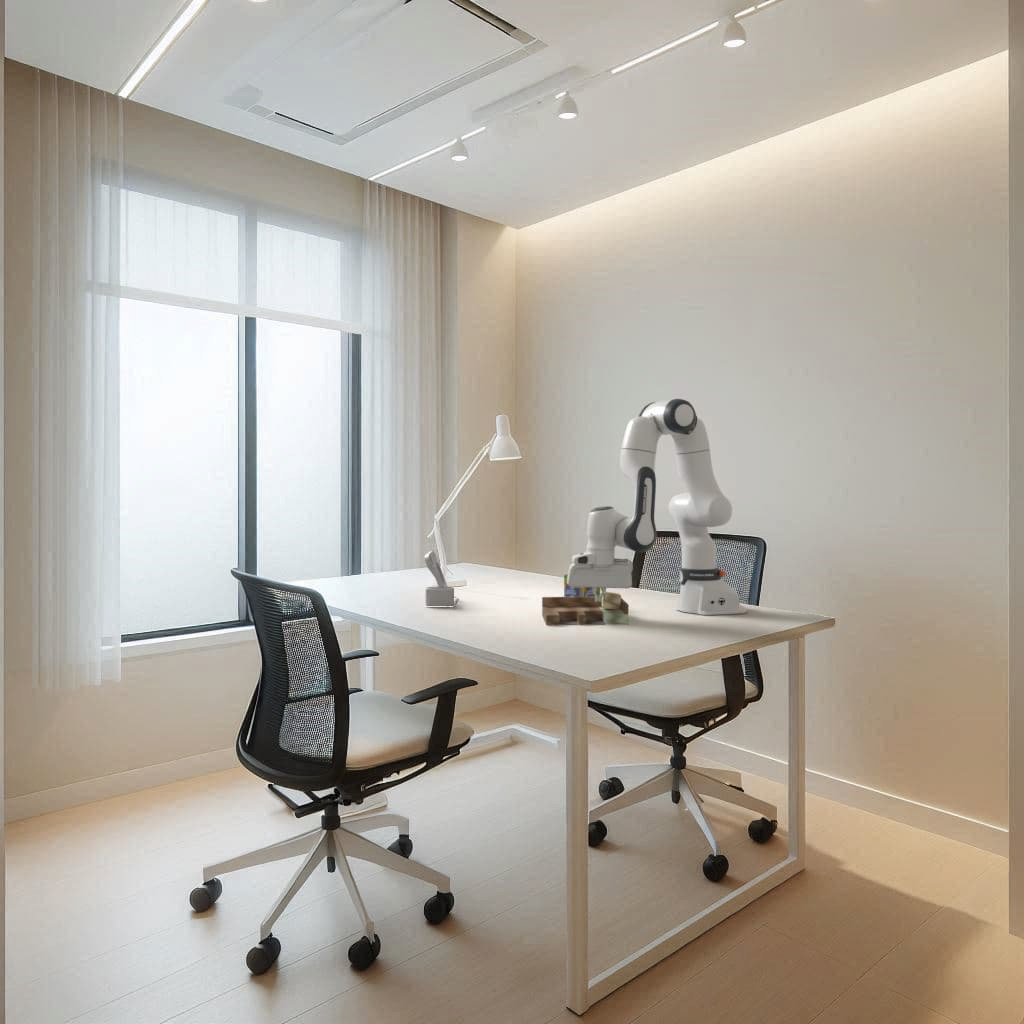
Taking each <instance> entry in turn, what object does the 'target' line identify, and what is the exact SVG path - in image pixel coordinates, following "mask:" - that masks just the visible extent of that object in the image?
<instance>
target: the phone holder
mask: <svg viewBox="0 0 1024 1024" xmlns="http://www.w3.org/2000/svg"><path fill="white" fill-rule="evenodd" d="M424 561H425V564H426V566H427V569H428V570H429V571H430V573H431V575H432V576H433V577H434V579H435V581H436V584H437V586H428V587H425V605H426V606H454V605H455V604H457V603H458V601H459V596H458V597H457V596H455V588H454V587H452V586H451V587H450V586H448V583H447V581H446V579H445V576H444V574H443V570H442V568H441V564H440V562H439V560H438V557H437V555H436V553H435V551H434V550H431V551H429V552H427V553H426V554H425V555H424ZM454 598H456V599H455V601H454ZM457 600H458V601H457ZM456 602H457V603H456ZM455 606H456V605H455Z"/></svg>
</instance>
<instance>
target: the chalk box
mask: <svg viewBox="0 0 1024 1024" xmlns="http://www.w3.org/2000/svg"><path fill="white" fill-rule="evenodd" d="M563 577H564V578H563V585H564V586H563V591H564V592H563V593H564V595H563V597H595V595H594V593H593V592H592V588H590V587H570V586H569V585H568V584H567V577H568V573H567V574H564V575H563ZM595 592H596V594H597V596H600V594H601V588H597V591H595Z"/></svg>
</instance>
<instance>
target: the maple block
mask: <svg viewBox="0 0 1024 1024" xmlns="http://www.w3.org/2000/svg"><path fill="white" fill-rule="evenodd" d="M621 598H622V594H620V593H619V592H611V591H609V592H608V591H606V593H605V594H604V596H603V597H602V605H601V606H602V607H603V608H604V609H615V610H620V604H621Z"/></svg>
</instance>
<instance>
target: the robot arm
mask: <svg viewBox="0 0 1024 1024" xmlns="http://www.w3.org/2000/svg"><path fill="white" fill-rule="evenodd" d="M696 413H697V412H696V410H695V408H694V406H693V405H692V403H690V402H689V401H688V400H686V399H681V398H675V399H672V398H671V399H670V398H668V399H662V400H659V401H656V402H650V403H648V404H647V405H645V406H644V407H643V408H642V409H641V411H640V412H639V415H638V416H636V417H633V418H632V419H630V420H629V421H628V423H627V425H626V428H625V431H624V434H623V439H622V443H621V449H620V456H619V466H620V471H621V473H622V474H623V475H624V476H625V477H626V479H628V480H629V481H630V482H631V484H632V487H633V488H634V503H633V513H632V517H628V516H627V515H625V514H622V513H621V512H619V511H617V510H616V509H615V508H614V507H613V506H608V505H607V506H599V507H594V508H593V509H591V510H590V511H589V515H588V518H587V529H586V536H587V545H586V551H584V552H580V553H578V554H577V553H576V554H574V555H572V557H571V562H572V563H571V564H570V565H569V567H568V571H567V574H568V577H567V584H568V585H569V586H570V587H590V588H592V592H593V593H594V595H595V602H602V597H603V596H604V594H605V593H606V592H607V589H630V588H631V587H632V584H633V578H632V572H633V569H634V565H633V564H634V563H633V562H632V561H631V560H630V559H629V558H615V554H616V552H615V551H616V550H615V549H616V546H617V547H621V548H624V549H628V550H631V551H633V552H635V553H645V552H647V551H649V550H650V549H651V548H653V547H654V545H655V544H656V541H657V527H656V523H655V521H656V520H655V511H656V491H657V490H656V488H657V478H656V471H655V469H656V457H657V449H658V443H659V440H660V437H661V436H663V435H665V436H666V435H667V436H668V435H670V436H671V437H672V439H673V442H674V453H675V460H676V461H675V462H676V468H677V477H678V478H679V480H680V481H681V482H682V483H683V484H684V486H685V487H686V489H687V492H681V493H679V494H676V495H674V496H673V497H672V498H671V499H670V501H669V503H668V512H669V513H668V514H669V516H670V518H671V519H672V520H673V521H674V523H675V525H676V528H677V531H678V534H679V539H680V544H681V545H680V546H681V566H680V570H679V583H680V589H679V596H678V600H677V605H676V608H675V609H676V610H677V611H680V612H684V613H689V614H697V615H702V616H712V615H713V616H714V615H715V616H717V615H734V614H735V615H736V614H737V615H738V614H746V613H747V608H746V607H745V606H743V605H741V604H740V598H739V593H738V592H737V591H736V589H734V588H732V586H730V585H729V584H728V583H727V582H725V581H724V580H723V579H722V578H723V577H724V578H725V577H726V576H727V572H726V570H724V569H721V570H720V569H719V568H718V567H717V545H716V543H715V541H714V540H713V538H712V537H711V535H710V533H709V530H708V528H716V527H721V526H724V525H726V524H727V523H728V522H729V521H730V520H731V517H732V514H733V506H732V503H731V501H730V500H729V499H728V498H727V497H726V496H725V495H724V494H723V492H722V491H721V489H720V487H719V485H718V483H717V480H716V478H715V475H714V471H713V464H712V456H711V455H712V454H711V449H710V442H709V436H708V433H707V429H706V426H705V423H704V421H703V420H702V419H701V418H698V416H697V414H696ZM597 588H600V596H597V594H596V592H595V591H597Z"/></svg>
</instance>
